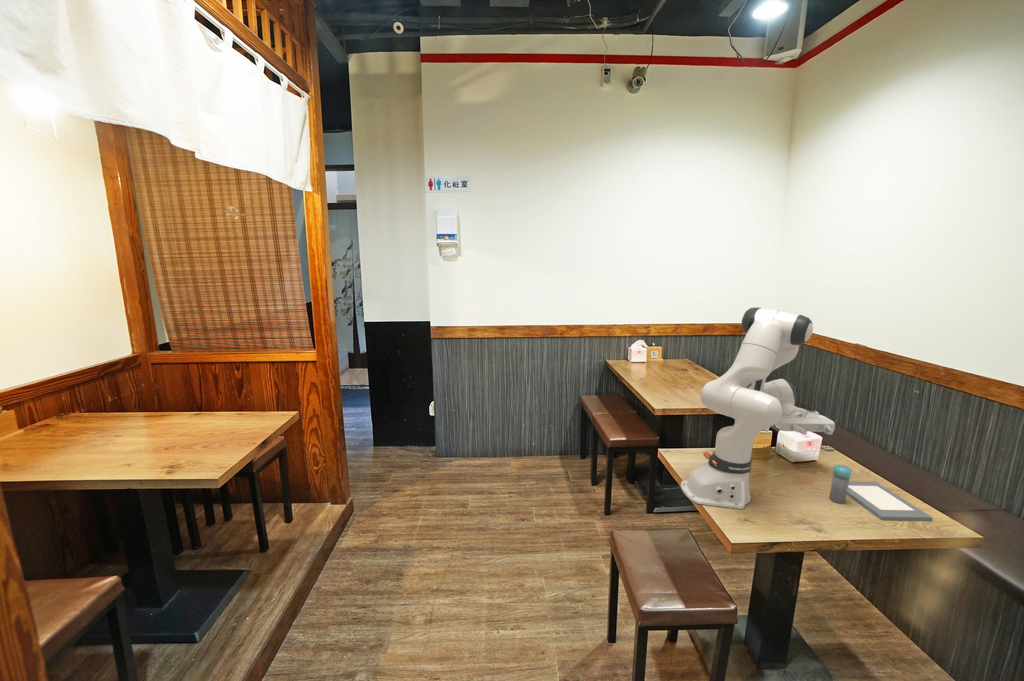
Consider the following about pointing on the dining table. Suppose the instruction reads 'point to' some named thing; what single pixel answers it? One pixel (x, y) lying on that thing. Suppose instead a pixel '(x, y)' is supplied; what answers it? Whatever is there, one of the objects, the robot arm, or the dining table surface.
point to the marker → (840, 483)
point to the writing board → (884, 502)
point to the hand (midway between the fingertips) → (817, 432)
